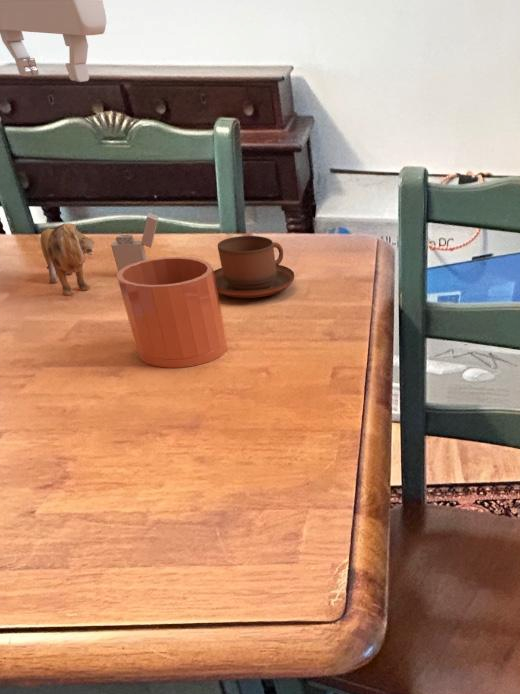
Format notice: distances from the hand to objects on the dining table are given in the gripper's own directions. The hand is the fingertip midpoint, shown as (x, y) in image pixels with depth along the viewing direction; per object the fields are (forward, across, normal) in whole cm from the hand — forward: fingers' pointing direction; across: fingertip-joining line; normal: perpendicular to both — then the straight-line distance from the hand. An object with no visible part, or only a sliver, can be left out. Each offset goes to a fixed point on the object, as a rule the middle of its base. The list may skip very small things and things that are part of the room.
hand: (54, 78), depth 91 cm
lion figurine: (+24, -1, -6) cm, 24 cm away
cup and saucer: (+24, +21, +6) cm, 33 cm away
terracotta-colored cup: (+24, +28, -14) cm, 39 cm away
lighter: (+24, +3, +3) cm, 24 cm away
